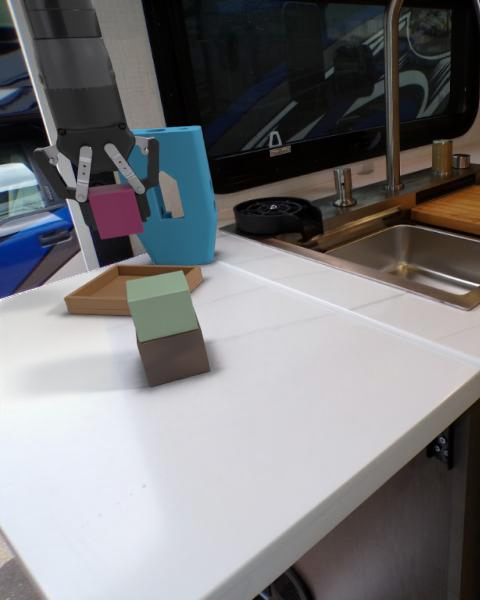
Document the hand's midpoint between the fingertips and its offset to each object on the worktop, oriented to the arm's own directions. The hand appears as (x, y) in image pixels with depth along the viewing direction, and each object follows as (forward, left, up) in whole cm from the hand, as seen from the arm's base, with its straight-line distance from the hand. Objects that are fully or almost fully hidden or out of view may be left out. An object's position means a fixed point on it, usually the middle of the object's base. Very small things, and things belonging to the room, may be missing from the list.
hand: (120, 223), depth 68 cm
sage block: (+14, -16, -5) cm, 22 cm away
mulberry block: (0, 0, -1) cm, 1 cm away
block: (0, +13, -11) cm, 17 cm away
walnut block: (+14, -16, -10) cm, 24 cm away
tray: (0, 0, -10) cm, 10 cm away
